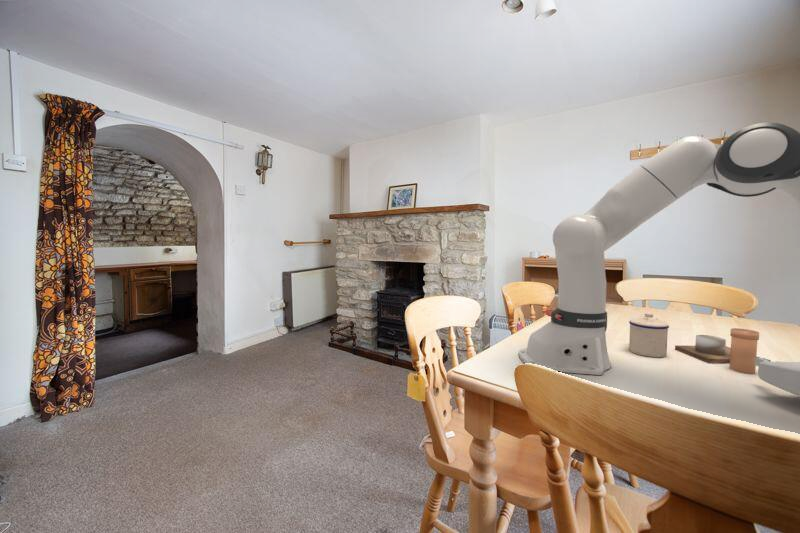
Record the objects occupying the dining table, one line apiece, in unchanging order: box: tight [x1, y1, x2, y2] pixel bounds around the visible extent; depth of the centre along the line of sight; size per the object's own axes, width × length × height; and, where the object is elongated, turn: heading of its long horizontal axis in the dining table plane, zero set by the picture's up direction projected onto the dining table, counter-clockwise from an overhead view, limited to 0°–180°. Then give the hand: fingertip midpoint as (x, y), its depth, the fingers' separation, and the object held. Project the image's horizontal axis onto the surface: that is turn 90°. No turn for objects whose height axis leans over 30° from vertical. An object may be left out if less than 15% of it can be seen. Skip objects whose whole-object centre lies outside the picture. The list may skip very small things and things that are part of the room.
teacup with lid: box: [628, 312, 670, 358], centre depth 93 cm, size 12×9×12 cm
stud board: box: [674, 334, 761, 364], centre depth 89 cm, size 14×11×5 cm
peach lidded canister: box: [729, 327, 760, 375], centre depth 79 cm, size 5×5×10 cm
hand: (780, 361), depth 71 cm, fingers open, 8 cm apart
